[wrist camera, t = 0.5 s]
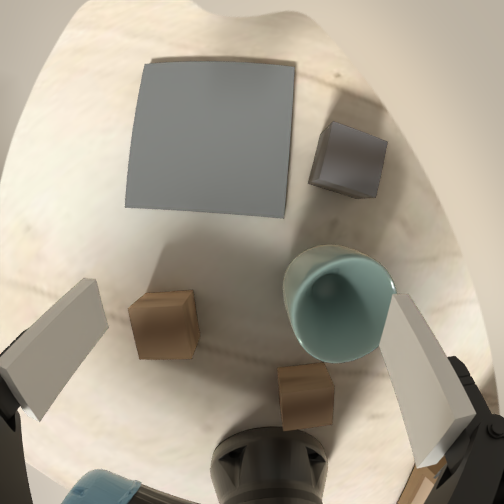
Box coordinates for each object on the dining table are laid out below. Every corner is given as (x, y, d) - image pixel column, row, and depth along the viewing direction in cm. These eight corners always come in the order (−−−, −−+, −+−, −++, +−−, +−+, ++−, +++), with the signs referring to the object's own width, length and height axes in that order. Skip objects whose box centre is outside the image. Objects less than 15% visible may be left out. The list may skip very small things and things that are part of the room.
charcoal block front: (356, 198, 28) (375, 197, 23) (307, 183, 28) (319, 178, 23) (366, 151, 27) (387, 141, 22) (320, 135, 27) (333, 121, 22)
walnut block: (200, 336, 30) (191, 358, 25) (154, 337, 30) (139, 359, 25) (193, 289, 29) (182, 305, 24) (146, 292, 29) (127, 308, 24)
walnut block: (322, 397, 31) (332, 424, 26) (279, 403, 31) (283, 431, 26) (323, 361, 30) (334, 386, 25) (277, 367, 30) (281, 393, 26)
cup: (340, 226, 28) (383, 236, 18) (364, 297, 29) (409, 335, 19) (265, 257, 29) (272, 284, 19) (294, 328, 30) (312, 380, 20)
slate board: (282, 218, 28) (283, 218, 27) (128, 207, 28) (124, 207, 27) (293, 71, 26) (294, 67, 25) (147, 67, 26) (144, 64, 25)
